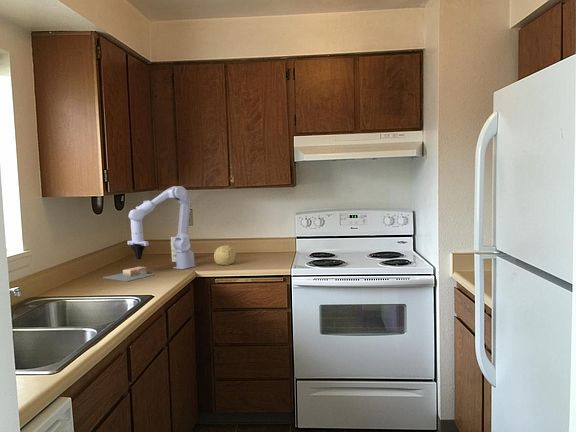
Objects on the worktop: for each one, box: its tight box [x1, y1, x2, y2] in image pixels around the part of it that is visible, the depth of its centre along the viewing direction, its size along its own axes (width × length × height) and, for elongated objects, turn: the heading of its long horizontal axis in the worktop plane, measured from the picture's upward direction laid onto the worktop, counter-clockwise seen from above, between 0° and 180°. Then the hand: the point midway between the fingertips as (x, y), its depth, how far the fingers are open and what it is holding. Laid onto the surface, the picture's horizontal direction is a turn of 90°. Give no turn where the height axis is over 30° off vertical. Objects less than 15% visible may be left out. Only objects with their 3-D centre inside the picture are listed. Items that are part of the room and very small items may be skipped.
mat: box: [102, 272, 155, 282], centre depth 251 cm, size 16×20×1 cm
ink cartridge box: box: [170, 236, 176, 263], centre depth 294 cm, size 9×5×15 cm, turn 101°
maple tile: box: [122, 266, 148, 277], centre depth 254 cm, size 3×6×10 cm
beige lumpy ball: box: [213, 244, 237, 266], centre depth 275 cm, size 11×12×11 cm
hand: (139, 259), depth 256 cm, fingers closed
